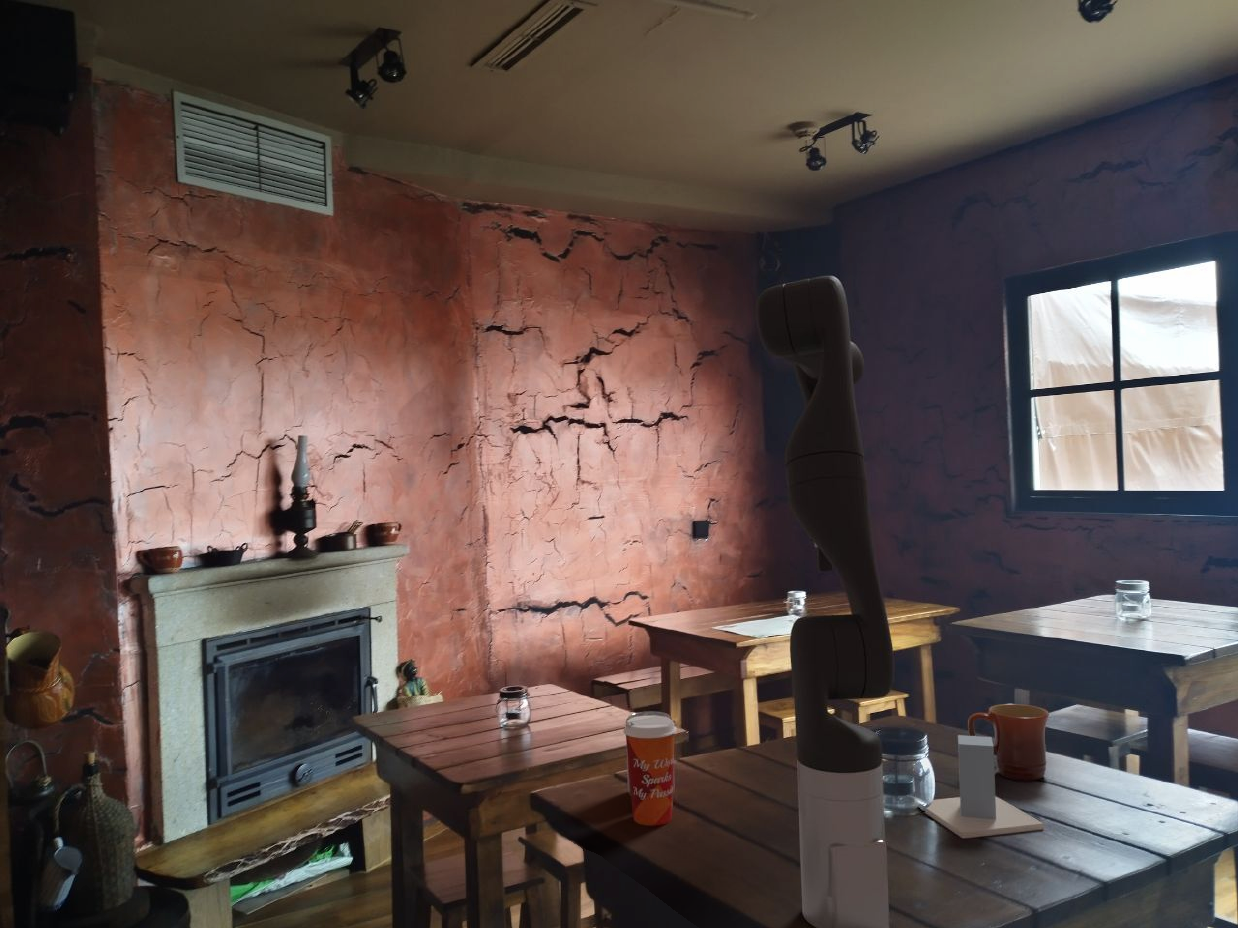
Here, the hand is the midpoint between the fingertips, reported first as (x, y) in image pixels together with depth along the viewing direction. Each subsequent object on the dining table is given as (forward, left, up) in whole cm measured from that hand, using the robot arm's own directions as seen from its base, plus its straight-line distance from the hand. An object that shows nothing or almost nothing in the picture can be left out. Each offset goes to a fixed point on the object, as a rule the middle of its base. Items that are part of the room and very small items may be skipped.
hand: (836, 573), depth 145 cm
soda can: (+4, +30, -33) cm, 45 cm away
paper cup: (-6, +32, -33) cm, 47 cm away
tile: (-18, -12, -33) cm, 40 cm away
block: (-18, -12, -32) cm, 39 cm away
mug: (-3, -27, -33) cm, 43 cm away
